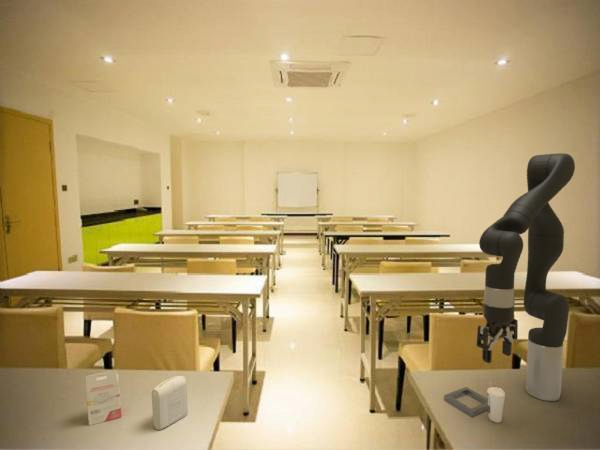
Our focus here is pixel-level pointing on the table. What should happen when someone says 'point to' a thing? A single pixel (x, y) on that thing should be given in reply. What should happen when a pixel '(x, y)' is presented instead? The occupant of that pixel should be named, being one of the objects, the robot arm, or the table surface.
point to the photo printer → (169, 402)
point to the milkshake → (495, 403)
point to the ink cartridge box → (103, 397)
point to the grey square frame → (470, 411)
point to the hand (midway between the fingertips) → (496, 358)
